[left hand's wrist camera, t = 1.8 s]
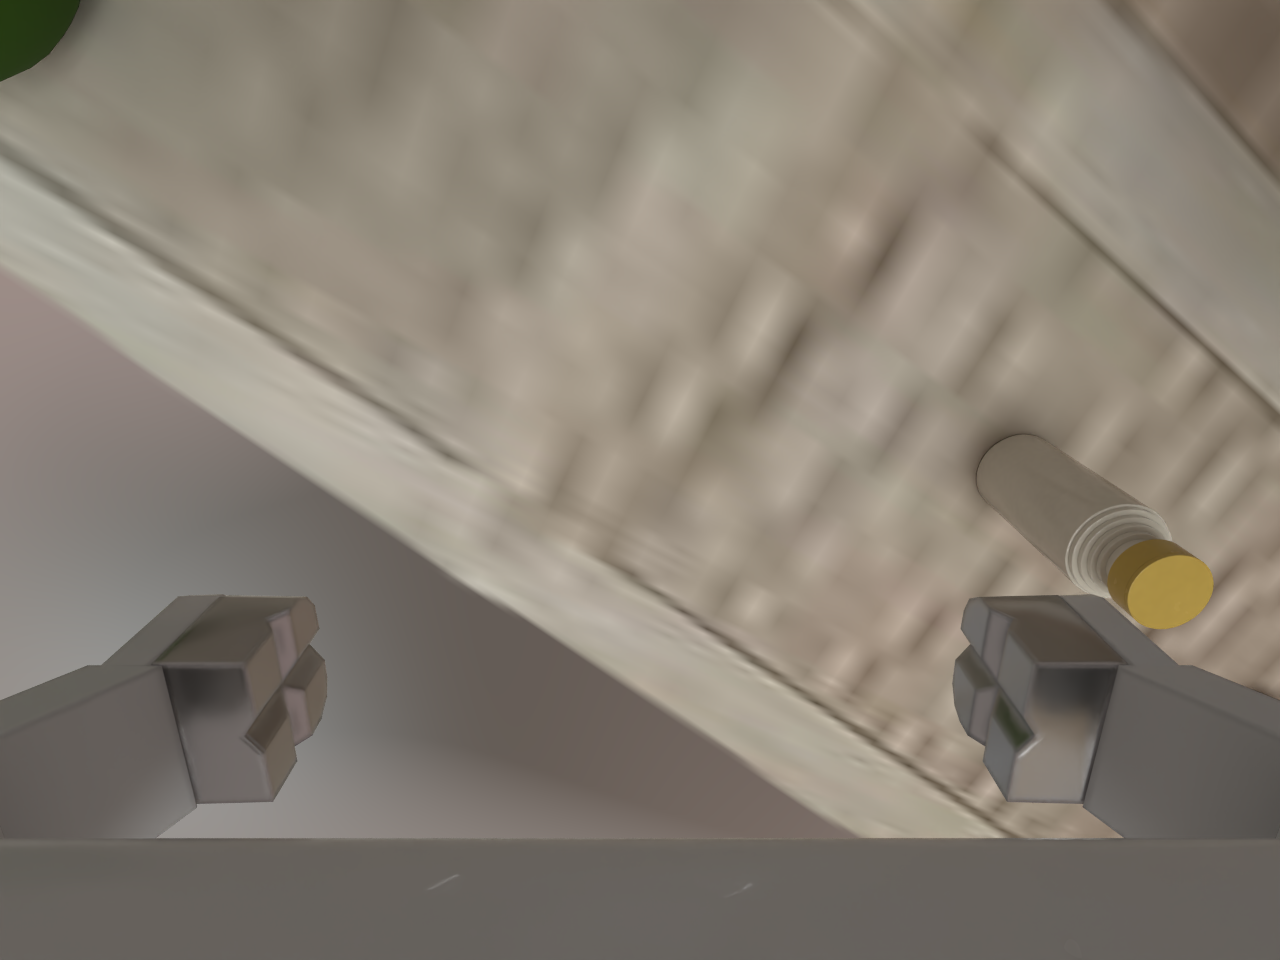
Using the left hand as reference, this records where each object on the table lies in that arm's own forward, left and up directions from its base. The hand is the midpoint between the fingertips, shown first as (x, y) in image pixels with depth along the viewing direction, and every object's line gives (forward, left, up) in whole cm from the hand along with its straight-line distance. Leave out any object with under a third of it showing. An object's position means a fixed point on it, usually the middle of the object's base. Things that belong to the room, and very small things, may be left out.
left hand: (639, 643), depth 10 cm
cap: (+16, +29, -30) cm, 44 cm away
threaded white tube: (+16, +29, -48) cm, 58 cm away
